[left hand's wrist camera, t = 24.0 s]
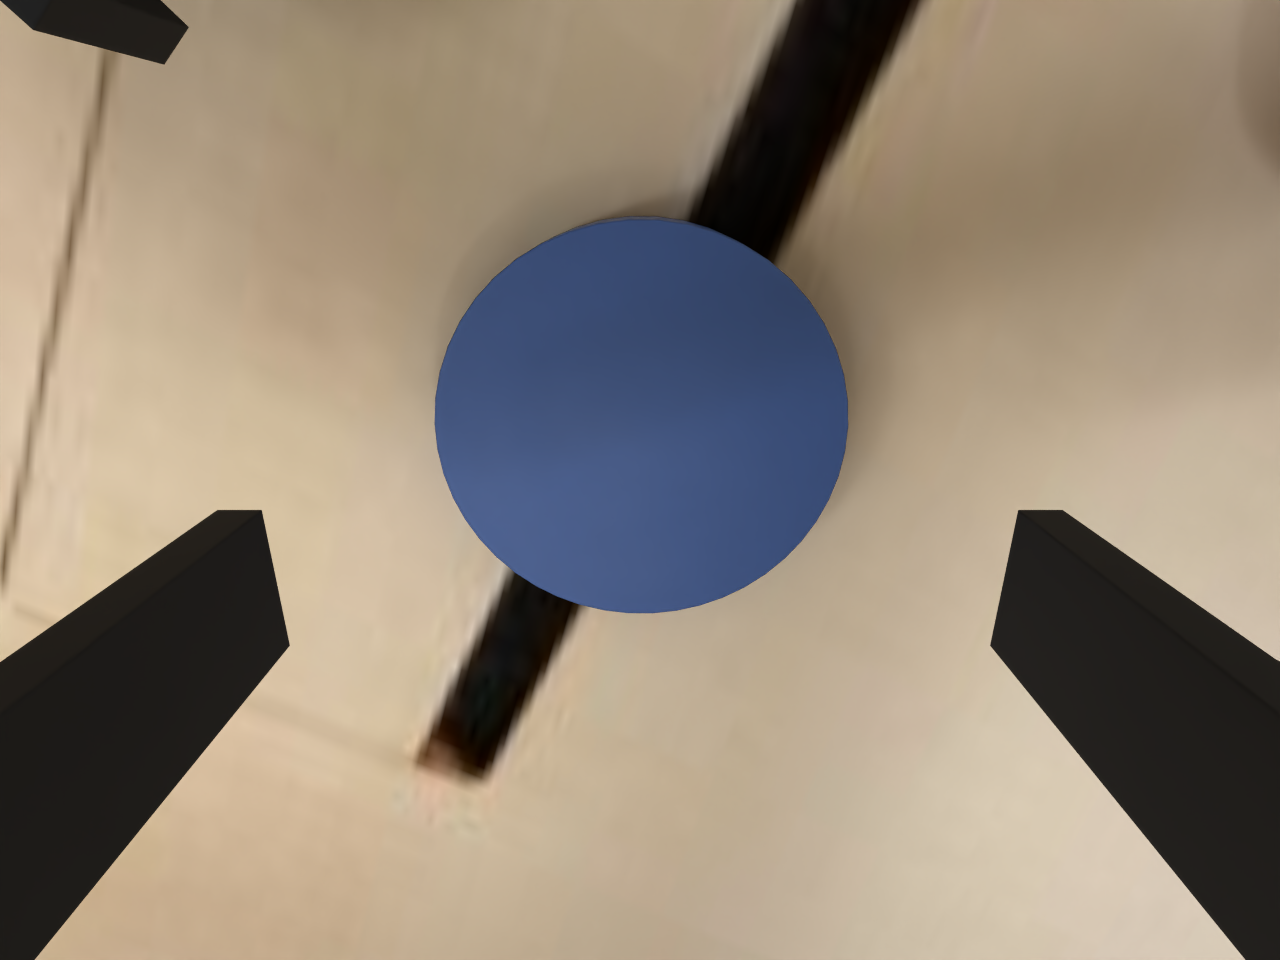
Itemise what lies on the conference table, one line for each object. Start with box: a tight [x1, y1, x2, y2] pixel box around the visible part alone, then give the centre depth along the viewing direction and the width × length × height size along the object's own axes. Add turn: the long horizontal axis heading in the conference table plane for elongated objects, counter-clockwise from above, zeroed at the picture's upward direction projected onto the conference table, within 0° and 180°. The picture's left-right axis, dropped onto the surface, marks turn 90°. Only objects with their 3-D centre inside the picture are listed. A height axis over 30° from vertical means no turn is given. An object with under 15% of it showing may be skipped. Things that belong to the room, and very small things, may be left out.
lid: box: [435, 216, 848, 613], centre depth 18 cm, size 10×10×2 cm
